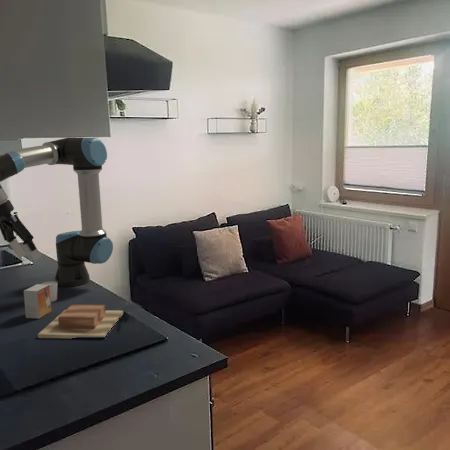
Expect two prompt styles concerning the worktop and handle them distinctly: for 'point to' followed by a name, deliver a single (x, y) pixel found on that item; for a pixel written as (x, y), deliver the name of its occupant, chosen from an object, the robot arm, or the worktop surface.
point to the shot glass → (52, 289)
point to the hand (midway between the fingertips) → (29, 257)
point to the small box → (37, 301)
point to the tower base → (82, 332)
